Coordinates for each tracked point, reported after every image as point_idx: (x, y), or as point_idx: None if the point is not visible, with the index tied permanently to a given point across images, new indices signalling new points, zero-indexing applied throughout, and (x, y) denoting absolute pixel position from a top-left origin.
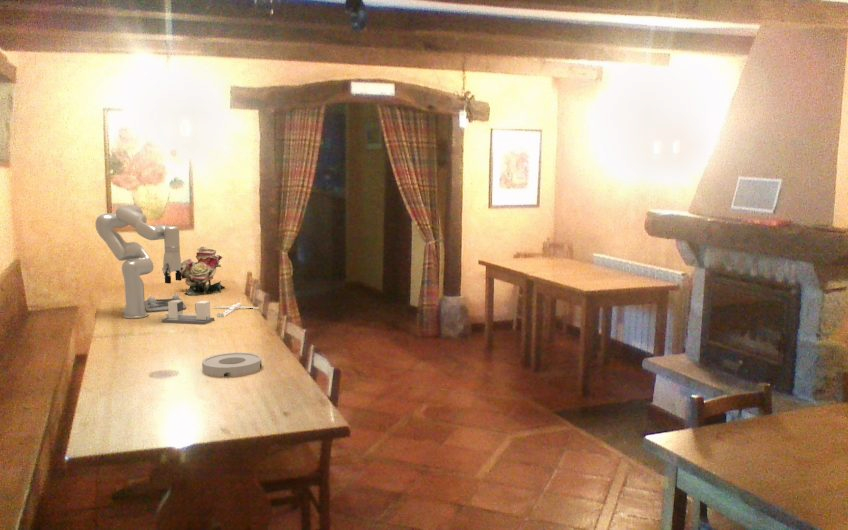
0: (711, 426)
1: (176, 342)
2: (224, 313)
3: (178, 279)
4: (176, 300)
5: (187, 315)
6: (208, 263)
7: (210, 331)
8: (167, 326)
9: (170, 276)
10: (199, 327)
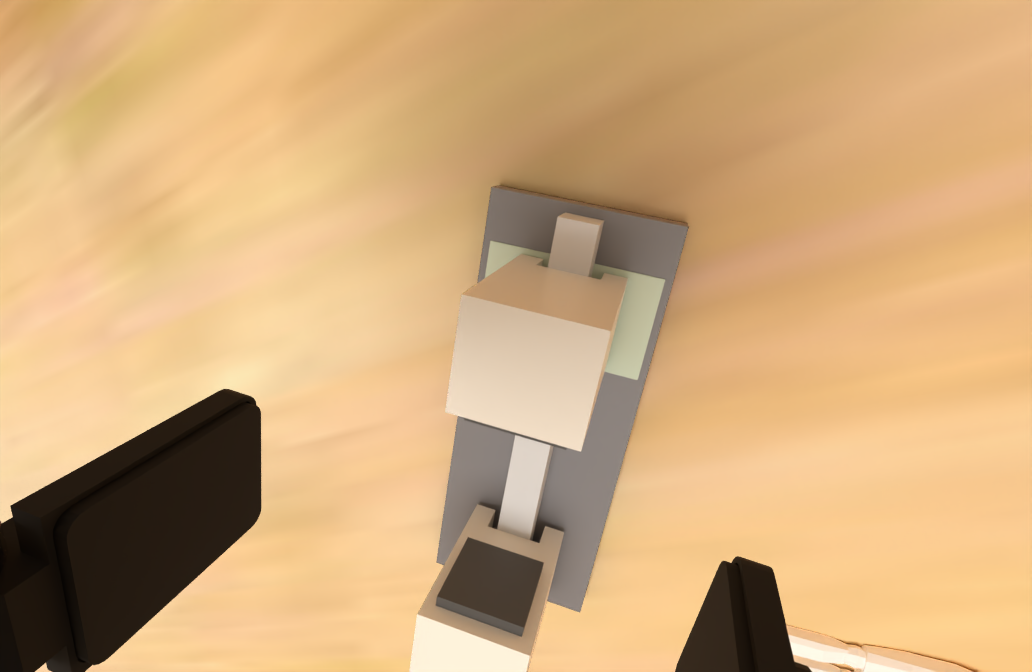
0: None
1: (37, 472)
2: (827, 662)
3: (694, 648)
4: (562, 381)
5: (515, 440)
6: None
7: (271, 597)
8: (357, 299)
9: (82, 658)
10: (356, 527)
